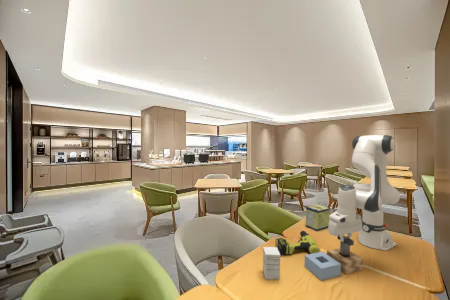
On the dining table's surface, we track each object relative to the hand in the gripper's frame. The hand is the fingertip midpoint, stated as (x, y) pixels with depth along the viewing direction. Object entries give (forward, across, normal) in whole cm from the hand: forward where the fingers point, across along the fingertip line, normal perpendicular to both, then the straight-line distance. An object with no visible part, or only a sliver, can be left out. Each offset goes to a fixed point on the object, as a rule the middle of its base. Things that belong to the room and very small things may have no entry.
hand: (345, 240), depth 113 cm
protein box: (+14, -23, -45) cm, 52 cm away
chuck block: (+13, +15, 0) cm, 20 cm away
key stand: (+14, 0, 0) cm, 14 cm away
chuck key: (+12, 0, 0) cm, 12 cm away
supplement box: (+13, +42, -5) cm, 45 cm away
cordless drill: (+14, +13, -26) cm, 32 cm away
